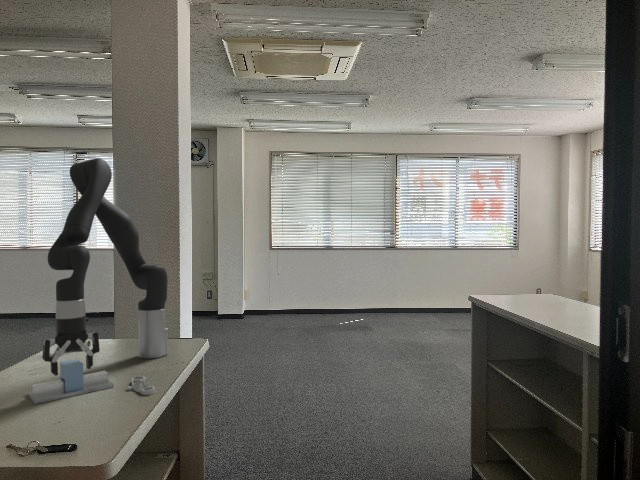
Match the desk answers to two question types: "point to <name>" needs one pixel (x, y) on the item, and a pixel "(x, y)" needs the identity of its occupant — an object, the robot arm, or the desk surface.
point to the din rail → (57, 391)
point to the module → (72, 374)
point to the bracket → (141, 386)
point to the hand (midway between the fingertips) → (72, 371)
